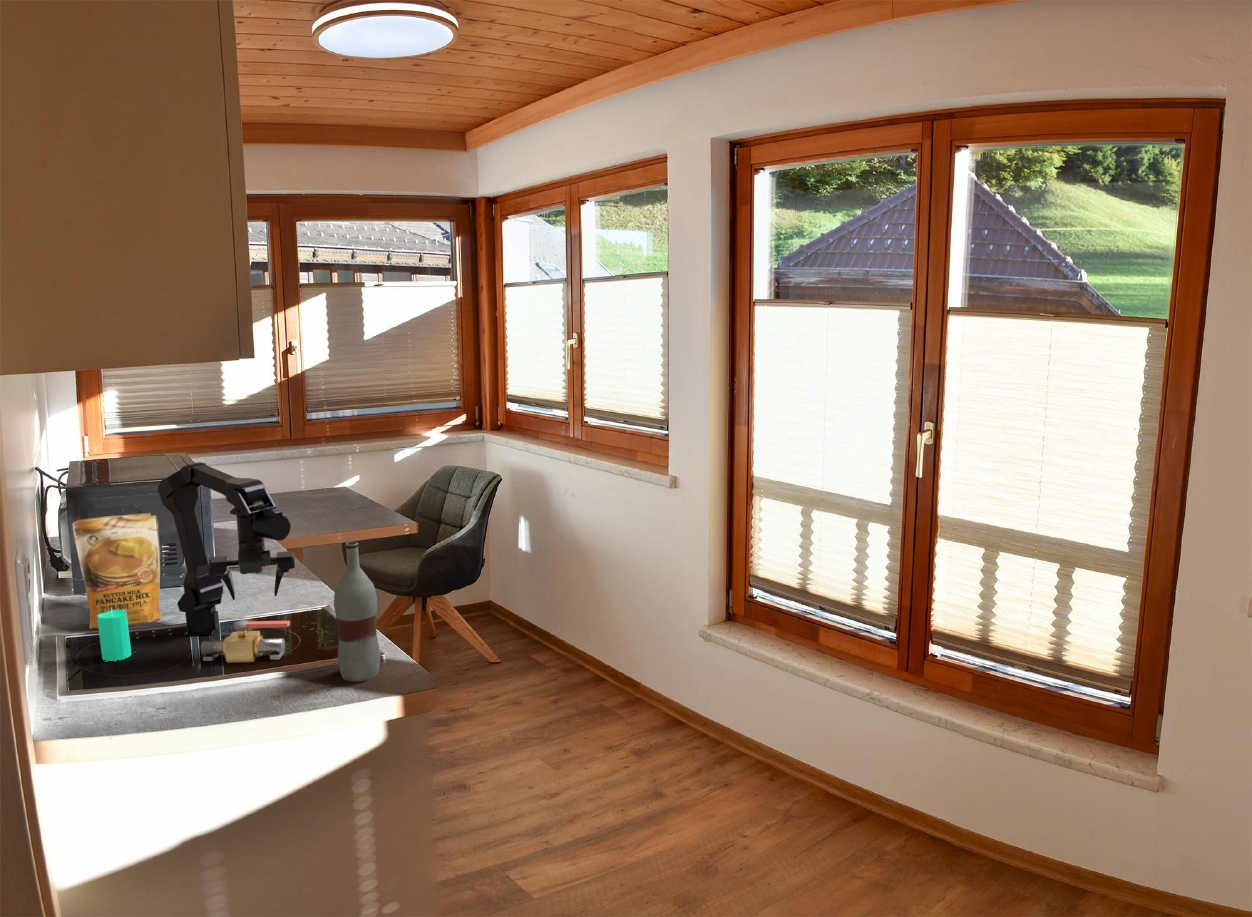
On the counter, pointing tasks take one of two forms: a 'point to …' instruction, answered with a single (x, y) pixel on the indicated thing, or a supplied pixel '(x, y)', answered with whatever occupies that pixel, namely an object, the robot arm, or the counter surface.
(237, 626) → the lever
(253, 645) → the valve
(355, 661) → the vodka
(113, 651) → the candle
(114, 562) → the pancake mix bag
